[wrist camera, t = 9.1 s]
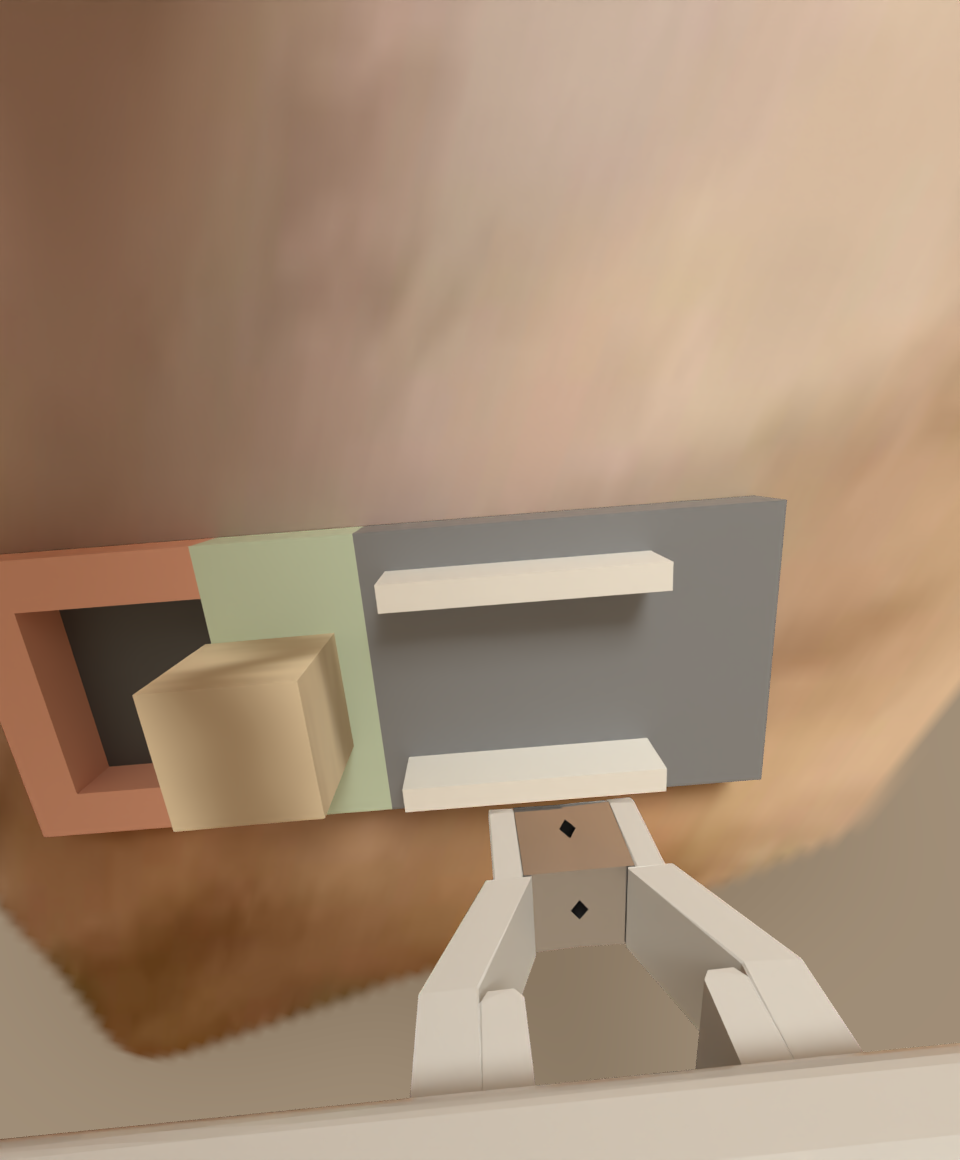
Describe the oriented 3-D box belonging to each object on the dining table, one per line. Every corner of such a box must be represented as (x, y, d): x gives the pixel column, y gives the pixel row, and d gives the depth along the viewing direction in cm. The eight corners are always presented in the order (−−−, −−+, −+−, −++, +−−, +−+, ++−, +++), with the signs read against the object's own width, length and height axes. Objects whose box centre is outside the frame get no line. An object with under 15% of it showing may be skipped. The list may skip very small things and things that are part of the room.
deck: (754, 495, 19) (786, 499, 17) (735, 751, 22) (761, 779, 20) (-5, 554, 19) (-60, 565, 17) (81, 803, 22) (44, 837, 20)
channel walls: (650, 550, 17) (673, 561, 15) (646, 758, 20) (666, 791, 18) (384, 571, 17) (374, 585, 15) (411, 777, 20) (405, 812, 18)
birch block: (334, 632, 18) (296, 680, 14) (354, 746, 19) (324, 818, 15) (205, 643, 18) (132, 695, 14) (233, 756, 19) (173, 832, 15)
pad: (364, 526, 19) (352, 533, 17) (399, 778, 22) (392, 809, 20) (216, 537, 19) (188, 546, 17) (272, 788, 22) (253, 820, 20)
